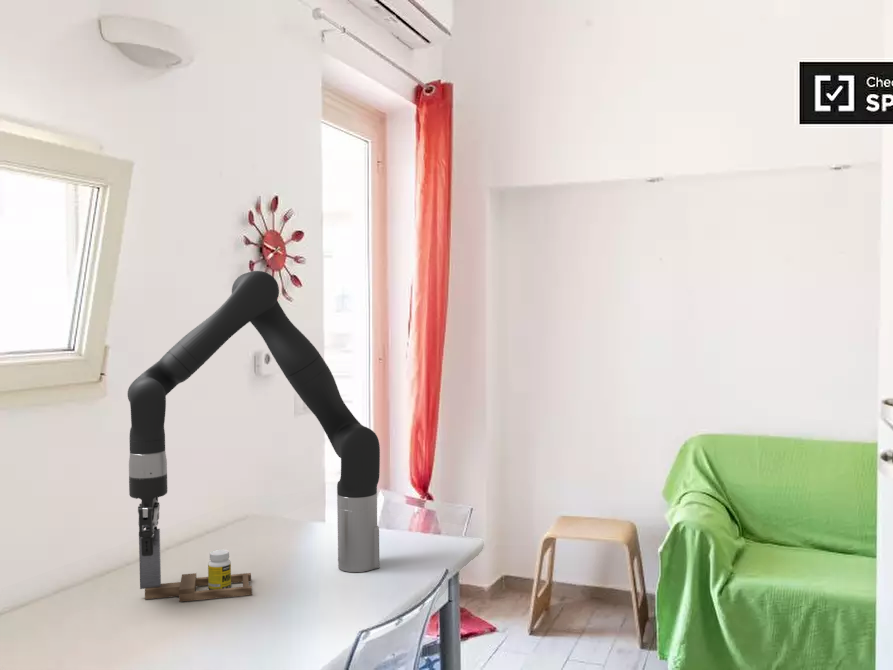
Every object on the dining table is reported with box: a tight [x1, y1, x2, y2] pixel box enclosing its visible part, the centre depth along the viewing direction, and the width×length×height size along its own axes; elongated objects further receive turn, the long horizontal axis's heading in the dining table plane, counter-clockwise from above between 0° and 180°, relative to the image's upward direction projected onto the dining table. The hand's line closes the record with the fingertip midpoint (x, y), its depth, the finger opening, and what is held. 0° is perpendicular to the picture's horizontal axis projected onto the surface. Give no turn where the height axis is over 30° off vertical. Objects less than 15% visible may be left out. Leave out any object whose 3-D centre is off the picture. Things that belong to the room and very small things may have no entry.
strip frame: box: [138, 528, 253, 603], centre depth 173 cm, size 23×10×14 cm, turn 104°
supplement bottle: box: [207, 549, 232, 590], centre depth 174 cm, size 5×5×8 cm
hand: (149, 549), depth 170 cm, fingers open, 8 cm apart
